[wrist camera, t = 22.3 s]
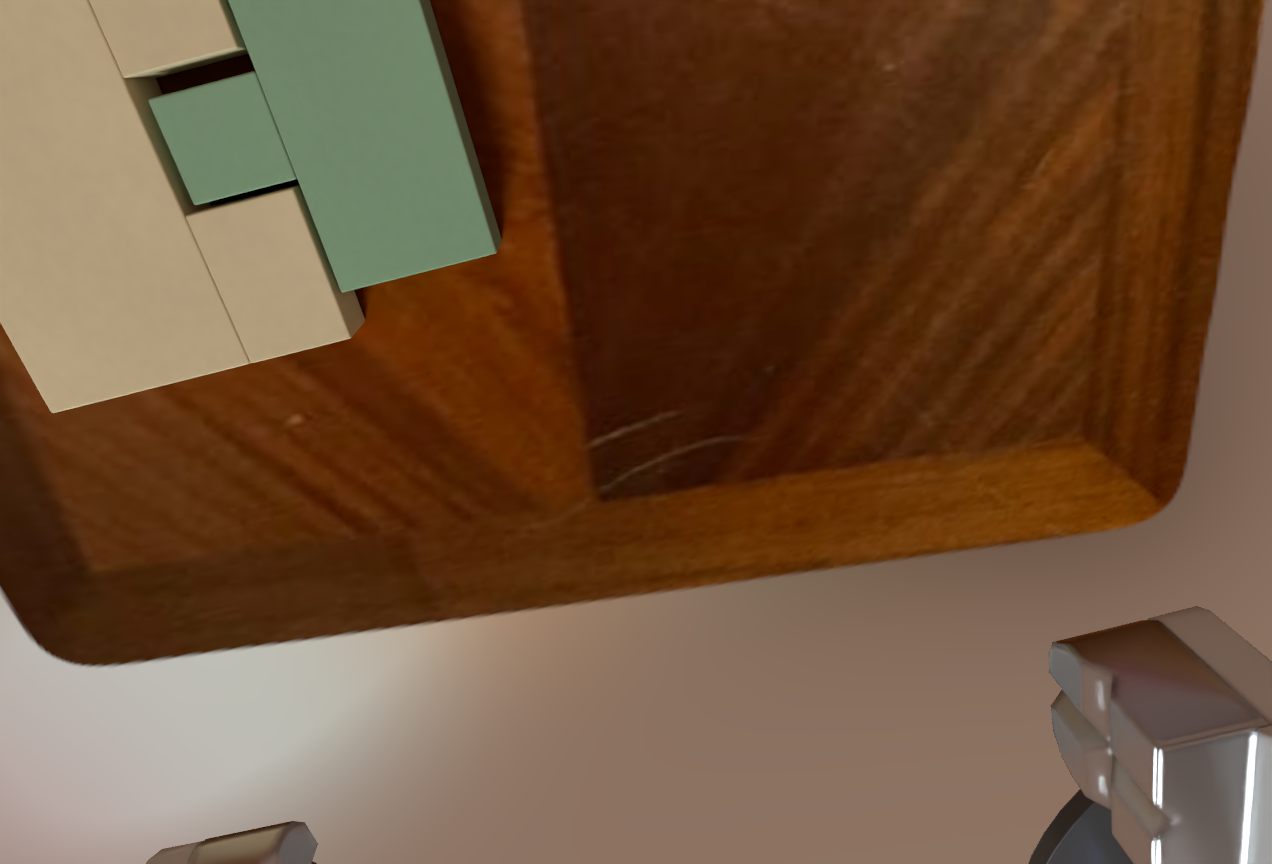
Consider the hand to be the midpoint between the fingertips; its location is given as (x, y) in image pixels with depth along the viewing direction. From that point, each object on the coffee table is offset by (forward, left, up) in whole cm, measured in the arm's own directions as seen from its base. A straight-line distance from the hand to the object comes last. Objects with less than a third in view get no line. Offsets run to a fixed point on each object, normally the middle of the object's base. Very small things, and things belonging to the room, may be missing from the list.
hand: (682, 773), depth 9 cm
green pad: (+8, +9, -27) cm, 29 cm away
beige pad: (+8, +16, -27) cm, 32 cm away
